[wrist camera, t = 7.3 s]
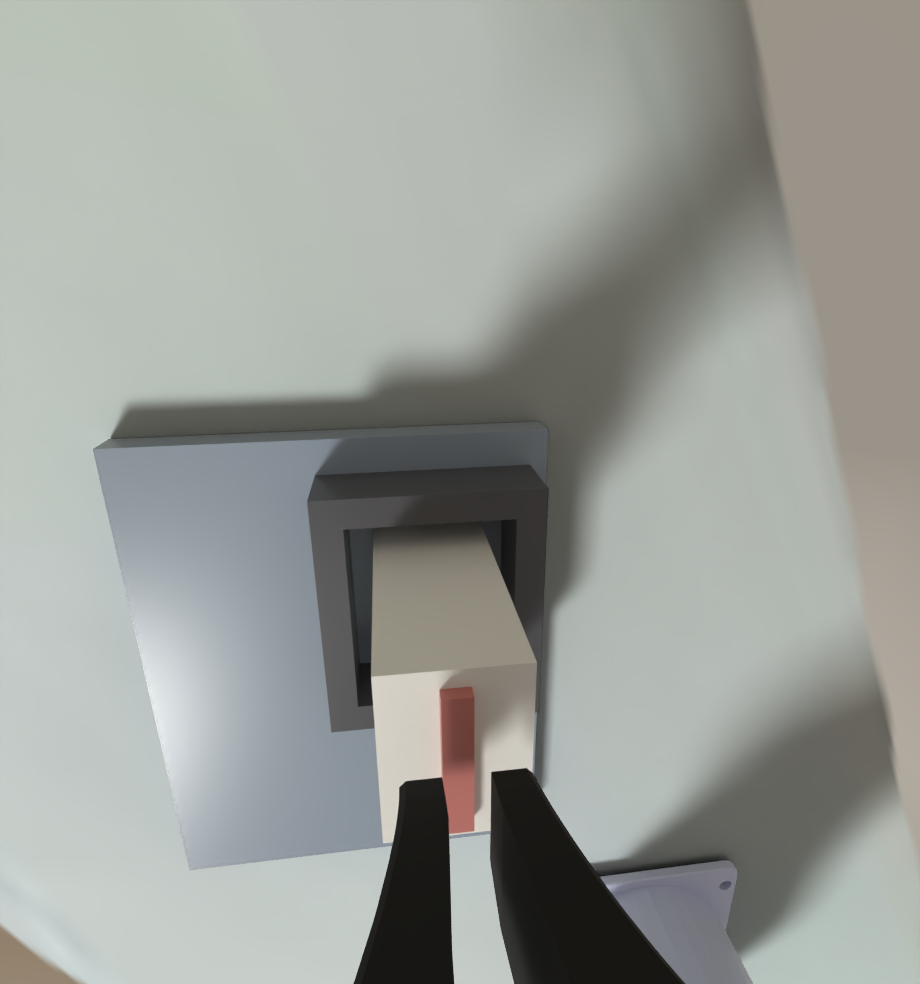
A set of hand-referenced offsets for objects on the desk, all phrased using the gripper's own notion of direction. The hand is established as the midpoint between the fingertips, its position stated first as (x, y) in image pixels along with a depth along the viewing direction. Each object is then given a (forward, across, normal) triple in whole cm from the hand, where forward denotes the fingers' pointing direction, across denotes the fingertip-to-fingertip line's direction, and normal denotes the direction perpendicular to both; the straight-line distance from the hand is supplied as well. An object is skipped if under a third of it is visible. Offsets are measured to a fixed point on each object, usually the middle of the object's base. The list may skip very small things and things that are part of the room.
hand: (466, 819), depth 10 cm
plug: (+8, 0, 0) cm, 8 cm away
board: (+9, +2, +3) cm, 10 cm away
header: (+8, 0, 0) cm, 8 cm away
